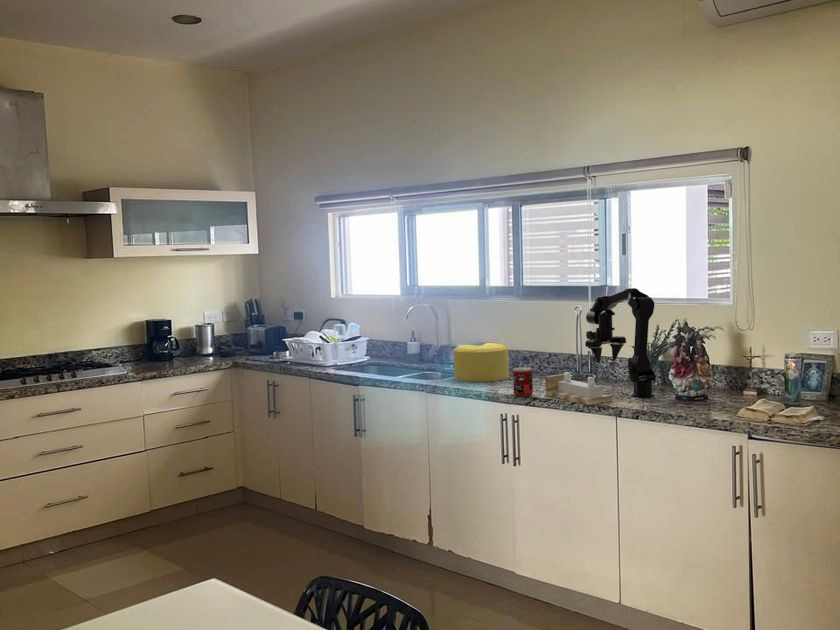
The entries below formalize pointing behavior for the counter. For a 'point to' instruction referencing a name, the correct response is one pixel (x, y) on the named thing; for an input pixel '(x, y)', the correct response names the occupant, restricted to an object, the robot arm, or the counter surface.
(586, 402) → the shelf
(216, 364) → the counter surface
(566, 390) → the white studded brick
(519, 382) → the canned food
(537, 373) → the counter surface
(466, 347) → the cheese
